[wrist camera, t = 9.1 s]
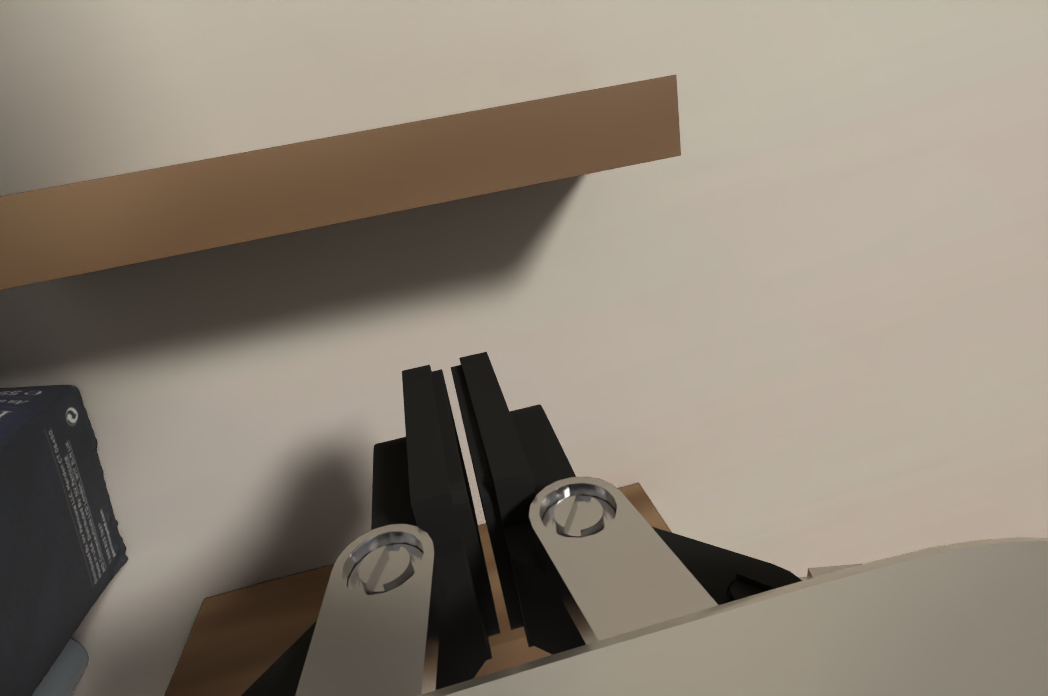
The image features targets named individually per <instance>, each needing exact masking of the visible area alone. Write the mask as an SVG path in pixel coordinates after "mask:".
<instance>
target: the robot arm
mask: <svg viewBox="0 0 1048 696" xmlns="http://www.w3.org/2000/svg"><path fill="white" fill-rule="evenodd" d="M460 362H461V365H459V366H455V367H451V371H452V375H453V380H454V384H455V389H456V393H457V397H458V402H459V406H460V411H461V415H462V420H463V424H464V428H465V433H466V437H467V442H468V446H469V450H470V455H471V459H472V464H473V468H474V472H475V477H476V481H477V486H478V490H479V494H480V499H481V503H482V507H483V511H484V516H485V520H486V524H487V529H488V533H489V537H490V542H491V546H492V550H493V555H494V559H495V563H496V567H497V572H498V576H499V580H500V585H501V589H502V593H503V598H504V602H505V606H506V610H507V615H508V619H509V623H510V628H511V630H513V629H517V628H520V627H524V631H525V635H526V639H527V642H528V646H529V647H533V646H535V647H537V648H540V649H542V650H544V651H546V652H548V653H550V654H552V655H550V656H547V657H544V658H540V659H537V660H534V661H530V662H527V663H524V664H520V665H517V666H514V667H510V668H507V669H504V670H501V671H497V672H494V673H491V674H487V675H484V676H481V677H477V678H474V677H475V676H476V674H477V673H478V671H479V670H480V668H481V667H482V666H483V664H484V663H485V661H486V660H489V659H492V654H491V648H490V643H489V638H488V637H490V636H493V635H496V634H500V628H499V623H498V618H497V613H496V609H495V604H494V599H493V595H492V590H491V585H490V580H489V576H488V571H487V566H486V562H485V557H484V552H483V547H482V543H481V538H480V533H479V529H478V524H477V519H476V515H475V510H474V505H473V500H472V496H471V491H470V487H469V482H468V478H467V474H466V469H465V465H464V461H463V457H462V452H461V448H460V444H459V440H458V435H457V431H456V427H455V422H454V418H453V414H452V410H451V405H450V401H449V397H448V393H447V388H446V384H445V380H444V376H443V372H442V369H441V370H437V371H433V372H432V371H431V367H430V365H426V366H422V367H418V368H413V369H409V370H404V371H402V379H403V395H404V411H405V426H406V437H403V438H399V439H395V440H391V441H387V442H383V443H378V444H375V445H374V454H373V491H372V529H371V531H369V532H367V533H365V534H363V535H361V536H360V537H358V538H357V539H356V540H354V541H353V542H352V543H350V544H349V545H348V546H347V547H346V548H345V549H344V551H343V552H342V553H341V554H340V555H339V556H338V558H337V560H336V562H335V564H334V566H333V568H332V571H331V575H330V578H329V582H328V585H327V588H326V592H325V595H324V599H323V602H322V606H321V609H320V612H319V616H318V619H317V621H316V622H315V623H314V624H313V625H312V626H311V627H310V628H309V629H308V630H307V631H306V632H305V633H304V634H303V635H302V636H301V637H300V638H299V639H298V640H297V641H296V642H295V643H294V644H293V645H291V646H290V647H289V648H288V649H287V650H286V651H285V652H284V653H283V654H282V655H281V656H280V657H279V658H278V659H277V660H276V661H275V662H274V663H273V664H272V665H271V666H270V667H269V668H268V669H267V670H266V671H265V672H264V673H263V674H262V675H261V676H260V677H259V678H258V679H257V680H256V681H255V682H254V683H253V684H252V685H251V686H250V687H249V688H248V689H247V690H246V691H245V692H244V693H243V694H242V695H241V696H1048V538H1029V537H1017V538H1003V539H989V540H975V541H969V542H963V543H956V544H950V545H944V546H937V547H931V548H926V549H922V550H918V551H914V552H910V553H906V554H902V555H898V556H894V557H890V558H886V559H881V560H877V561H873V562H869V563H865V564H854V565H841V566H829V567H817V568H808V575H807V577H799V578H798V577H797V576H795V575H794V574H793V573H791V572H790V571H788V570H785V569H783V568H781V567H778V566H776V565H774V564H771V563H768V562H764V561H761V560H758V559H755V558H751V557H748V556H745V555H742V554H739V553H735V552H732V551H729V550H726V549H723V548H719V547H716V546H713V545H710V544H706V543H703V542H700V541H697V540H694V539H690V538H687V537H684V536H681V535H678V534H674V533H671V532H668V531H665V530H661V529H658V528H655V527H652V526H650V525H649V524H648V522H647V521H646V520H645V519H644V518H643V517H642V515H641V514H640V513H639V512H638V511H637V510H636V508H635V507H634V506H633V505H632V504H631V503H630V501H629V500H628V499H627V498H626V497H625V496H624V494H623V493H622V492H621V491H620V490H619V489H617V488H616V487H615V486H614V485H613V484H611V483H608V482H606V481H604V480H601V479H598V478H592V477H576V476H575V474H574V471H573V469H572V467H571V465H570V463H569V461H568V459H567V457H566V455H565V453H564V451H563V449H562V447H561V445H560V443H559V441H558V439H557V437H556V434H555V432H554V430H553V428H552V426H551V424H550V422H549V420H548V418H547V416H546V414H545V412H544V410H543V408H542V406H541V405H535V406H531V407H527V408H523V409H519V410H515V411H510V412H509V410H508V407H507V404H506V402H505V399H504V396H503V394H502V391H501V388H500V386H499V383H498V381H497V378H496V375H495V373H494V370H493V367H492V365H491V362H490V360H489V357H488V354H487V352H484V353H479V354H475V355H470V356H466V357H462V358H460ZM473 678H474V679H473Z"/></svg>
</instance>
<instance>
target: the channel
mask: <svg viewBox="0 0 1048 696" xmlns="http://www.w3.org/2000/svg"><path fill="white" fill-rule="evenodd" d="M680 155H681V148H680V131H679V114H678V97H677V80H676V75H671V76H666V77H660V78H655V79H649V80H644V81H638V82H633V83H627V84H621V85H616V86H610V87H605V88H599V89H594V90H588V91H583V92H577V93H572V94H566V95H560V96H555V97H549V98H544V99H538V100H533V101H527V102H522V103H516V104H511V105H505V106H499V107H494V108H488V109H483V110H477V111H472V112H466V113H461V114H455V115H449V116H444V117H438V118H433V119H427V120H422V121H416V122H411V123H405V124H400V125H394V126H388V127H383V128H377V129H372V130H366V131H361V132H355V133H350V134H344V135H338V136H333V137H327V138H322V139H316V140H311V141H305V142H300V143H294V144H289V145H283V146H277V147H272V148H266V149H261V150H255V151H250V152H244V153H239V154H233V155H228V156H222V157H216V158H211V159H205V160H200V161H194V162H189V163H183V164H178V165H172V166H166V167H161V168H155V169H150V170H144V171H139V172H133V173H128V174H122V175H117V176H111V177H105V178H100V179H94V180H89V181H83V182H78V183H72V184H67V185H61V186H56V187H50V188H44V189H39V190H33V191H28V192H22V193H17V194H11V195H6V196H0V290H3V289H8V288H13V287H18V286H23V285H28V284H33V283H38V282H43V281H49V280H54V279H59V278H64V277H69V276H74V275H79V274H84V273H89V272H94V271H99V270H104V269H109V268H114V267H119V266H124V265H129V264H134V263H139V262H145V261H150V260H155V259H160V258H165V257H170V256H175V255H180V254H185V253H190V252H195V251H200V250H205V249H210V248H215V247H220V246H225V245H230V244H235V243H241V242H246V241H251V240H256V239H261V238H266V237H271V236H276V235H281V234H286V233H291V232H296V231H301V230H306V229H311V228H316V227H321V226H326V225H331V224H336V223H342V222H347V221H352V220H357V219H362V218H367V217H372V216H377V215H382V214H387V213H392V212H397V211H402V210H407V209H412V208H417V207H422V206H427V205H432V204H438V203H443V202H448V201H453V200H458V199H463V198H468V197H473V196H478V195H483V194H488V193H493V192H498V191H503V190H508V189H513V188H518V187H523V186H528V185H534V184H539V183H544V182H549V181H554V180H559V179H564V178H569V177H574V176H579V175H584V174H589V173H594V172H599V171H604V170H609V169H614V168H619V167H624V166H630V165H635V164H640V163H645V162H650V161H655V160H660V159H665V158H670V157H675V156H680ZM617 489H619V490H620V491H621V492H622V493H623V494H624V496H625V497H626V498H627V499H628V500H629V501H630V503H631V504H632V505H633V506H634V507H635V508H636V510H637V511H638V512H639V513H640V514H641V515H642V517H643V518H644V519H645V520H646V521H647V522H648V524H649V525H650V526H652V527H655V528H658V529H661V530H665V531H668V532H671V530H670V529H669V527H668V526H667V524H666V523H665V521H664V520H663V518H662V517H661V515H660V514H659V512H658V511H657V509H656V508H655V506H654V505H653V503H652V502H651V500H650V499H649V497H648V496H647V494H646V493H645V491H644V490H643V488H642V487H641V485H640V484H639V483H636V484H632V485H629V486H625V487H621V488H617ZM478 529H479V533H480V538H481V543H482V547H483V552H484V557H485V562H486V566H487V571H488V576H489V580H490V585H491V590H492V595H493V599H494V604H495V609H496V613H497V618H498V623H499V628H500V634H496V635H493V636H490V637H488V638H489V643H490V648H491V654H492V659H489V660H486V661H485V663H484V664H483V666H482V667H481V668H480V670H479V671H478V673H477V674H476V676H475V677H474V678H477V677H481V676H484V675H487V674H491V673H494V672H497V671H501V670H504V669H507V668H510V667H514V666H517V665H520V664H524V663H527V662H530V661H534V660H537V659H540V658H544V657H547V656H550V655H552V654H550V653H548V652H546V651H544V650H542V649H540V648H537V647H535V646H533V647H529V646H528V642H527V639H526V635H525V631H524V627H520V628H517V629H513V630H511V628H510V623H509V619H508V615H507V610H506V606H505V602H504V598H503V593H502V589H501V585H500V580H499V576H498V572H497V567H496V563H495V559H494V555H493V550H492V546H491V542H490V537H489V533H488V529H487V524H482V525H479V526H478ZM671 533H672V532H671ZM333 566H334V564H332V565H329V566H325V567H321V568H317V569H314V570H310V571H306V572H302V573H299V574H295V575H291V576H287V577H284V578H280V579H276V580H272V581H269V582H265V583H261V584H257V585H254V586H250V587H246V588H242V589H239V590H235V591H231V592H227V593H224V594H220V595H216V596H212V597H209V598H205V599H204V601H203V604H202V606H201V609H200V611H199V613H198V616H197V618H196V621H195V623H194V625H193V628H192V630H191V633H190V635H189V637H188V640H187V642H186V645H185V647H184V650H183V652H182V654H181V657H180V659H179V662H178V664H177V666H176V669H175V671H174V674H173V676H172V678H171V681H170V683H169V686H168V688H167V690H166V693H165V695H164V696H241V695H242V694H243V693H244V692H245V691H246V690H247V689H248V688H249V687H250V686H251V685H252V684H253V683H254V682H255V681H256V680H257V679H258V678H259V677H260V676H261V675H262V674H263V673H264V672H265V671H266V670H267V669H268V668H269V667H270V666H271V665H272V664H273V663H274V662H275V661H276V660H277V659H278V658H279V657H280V656H281V655H282V654H283V653H284V652H285V651H286V650H287V649H288V648H289V647H290V646H291V645H293V644H294V643H295V642H296V641H297V640H298V639H299V638H300V637H301V636H302V635H303V634H304V633H305V632H306V631H307V630H308V629H309V628H310V627H311V626H312V625H313V624H314V623H315V622H316V621H317V619H318V616H319V612H320V609H321V606H322V602H323V599H324V595H325V592H326V588H327V585H328V582H329V578H330V575H331V571H332V568H333ZM474 678H473V679H474Z"/></svg>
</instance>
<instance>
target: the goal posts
mask: <svg viewBox="0 0 1048 696" xmlns="http://www.w3.org/2000/svg"><path fill="white" fill-rule="evenodd" d="M87 664H88V655H87V652H86V650H85V649H84V647H83V646H82V645H81V644H79V643H78V642H76V641H75V640H73V639H71V638H70V640H69V642H68V643H67V645H66V646H65V648H64V649H63V651H62V652H61V654H60V655H59V657H58V658H57V659H56V661H55V662H54V664H53V665H52V667H51V668H50V670H49V672H48V673H47V674H46V676H45V677H44V678H43V680H42V682H41V683H40V684H39V686H38V687H37V688H36V690H35V691H34V693H33V695H32V696H70V694H71V692H72V691H73V689H74V687H75V686H76V684H77V682H78V680H79V679H80V677H81V675H82V673H83V672H84V670H85V668H86V666H87Z"/></svg>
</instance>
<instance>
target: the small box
mask: <svg viewBox="0 0 1048 696" xmlns="http://www.w3.org/2000/svg"><path fill="white" fill-rule="evenodd" d="M96 447H97V439H96V438H95V436H94V432H93V429H92V427H91V423H90V421H89V418H88V415H87V412H86V409H85V407H84V405H83V401H82V397H81V394H80V392H79V390H78V388H77V387H76V386H74V385H53V386H34V387H16V388H0V696H32V695H33V693H34V691H35V690H36V688H37V687H38V686H39V684H40V683H41V682H42V680H43V678H44V677H45V676H46V674H47V673H48V672H49V670H50V668H51V667H52V665H53V664H54V662H55V661H56V659H57V658H58V657H59V655H60V654H61V652H62V651H63V649H64V648H65V646H66V645H67V643H68V642H69V640H70V638H71V636H72V634H73V633H74V632H75V630H76V629H77V628H78V626H79V625H80V623H81V622H82V620H83V619H84V617H85V616H86V614H87V613H88V611H89V610H90V608H91V607H92V606H93V604H94V603H95V602H96V600H97V599H98V598H99V596H100V595H101V593H102V592H103V590H104V589H105V588H106V586H107V585H108V583H109V582H110V581H111V580H112V578H113V577H114V576H115V574H116V573H117V572H118V571H119V570H120V568H121V567H122V566H123V565H124V564H125V563H126V562H127V560H128V557H127V556H126V555H125V551H126V547H125V545H124V543H123V540H122V537H121V536H120V535H119V532H118V529H117V524H118V522H117V520H115V517H114V514H113V510H112V506H111V503H110V499H109V495H108V492H107V489H106V484H105V481H104V477H103V470H102V467H101V465H100V461H99V458H98V454H97V450H96Z"/></svg>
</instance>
